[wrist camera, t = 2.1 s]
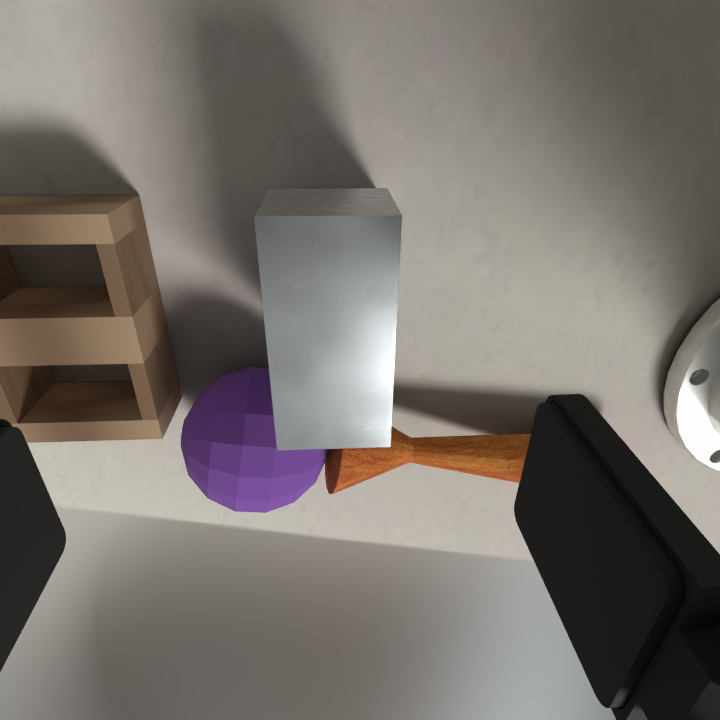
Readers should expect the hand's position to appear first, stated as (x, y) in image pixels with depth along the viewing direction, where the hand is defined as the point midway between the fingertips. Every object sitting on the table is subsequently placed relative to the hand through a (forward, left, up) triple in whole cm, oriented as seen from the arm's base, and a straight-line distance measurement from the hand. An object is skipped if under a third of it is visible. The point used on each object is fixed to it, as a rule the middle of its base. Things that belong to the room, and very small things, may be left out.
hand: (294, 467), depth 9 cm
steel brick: (-1, 0, -12) cm, 12 cm away
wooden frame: (+9, +2, -12) cm, 15 cm away
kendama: (-4, +8, -13) cm, 16 cm away
